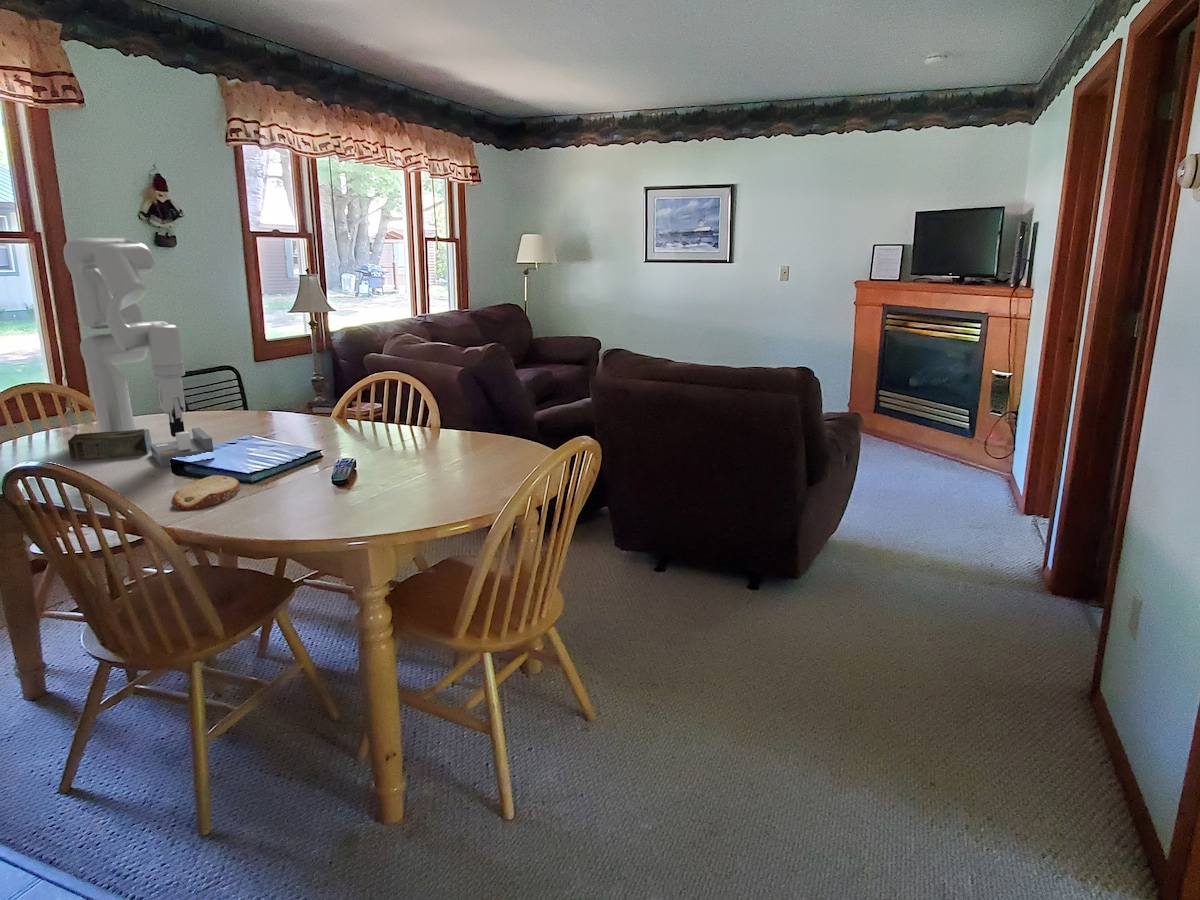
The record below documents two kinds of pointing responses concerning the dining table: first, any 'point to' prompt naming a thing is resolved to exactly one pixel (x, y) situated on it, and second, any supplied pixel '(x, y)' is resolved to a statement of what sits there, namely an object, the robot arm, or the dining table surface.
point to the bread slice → (205, 493)
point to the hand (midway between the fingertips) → (178, 435)
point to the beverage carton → (109, 444)
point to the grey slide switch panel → (170, 450)
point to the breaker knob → (183, 440)
